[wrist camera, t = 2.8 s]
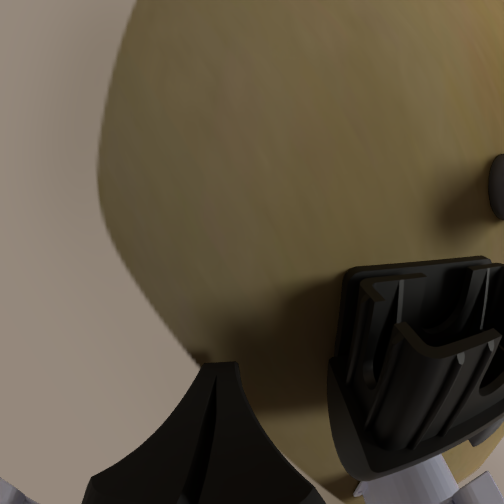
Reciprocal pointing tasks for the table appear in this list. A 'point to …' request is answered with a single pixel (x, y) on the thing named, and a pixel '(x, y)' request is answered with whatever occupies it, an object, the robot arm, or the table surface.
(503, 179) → the gray rounded knob
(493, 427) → the dark grey cylinder
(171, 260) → the table surface
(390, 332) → the end cap
